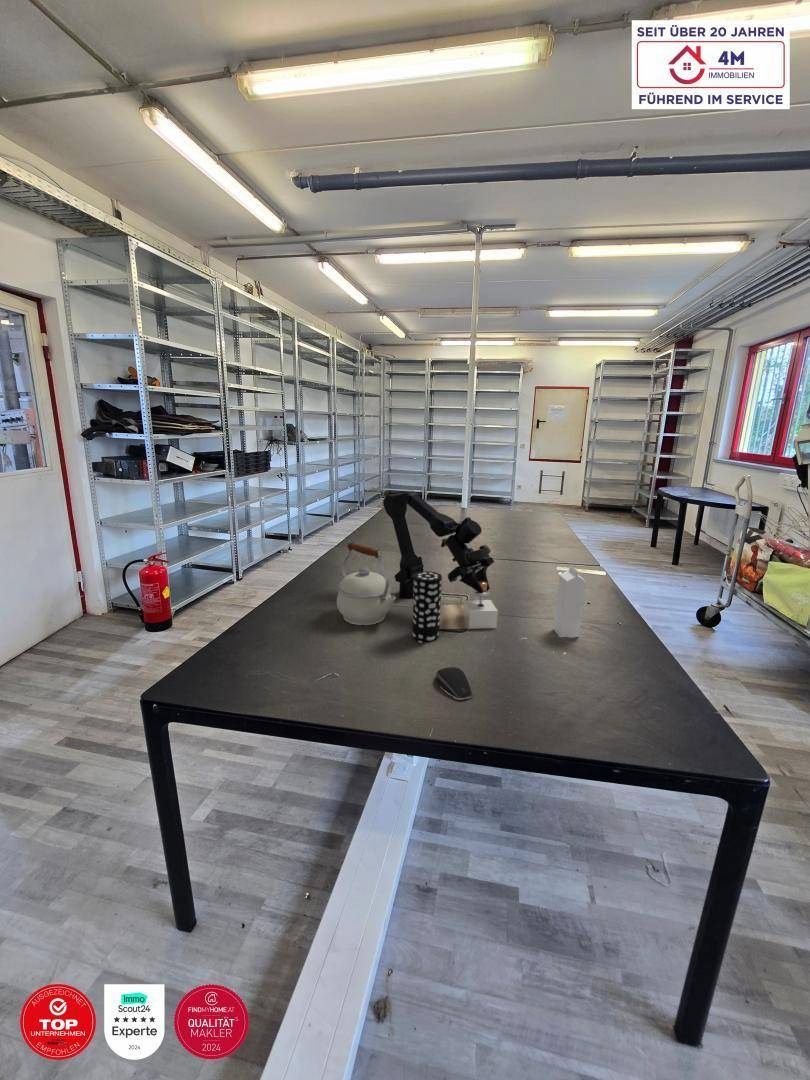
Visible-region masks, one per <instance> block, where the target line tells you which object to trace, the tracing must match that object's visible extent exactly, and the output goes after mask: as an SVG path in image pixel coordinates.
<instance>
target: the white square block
mask: <svg viewBox="0 0 810 1080" xmlns="http://www.w3.org/2000/svg"><path fill="white" fill-rule="evenodd" d="M479 600H480V599H464V601H463V605H464V614H463V617H464V619H465V621H466V623H467V625H468V628H479V629H497V625H498V615H499V611H498V609H497V607H496V606H495V605H494V603H493V601H492V600H491V599H483V601H482V607H479Z"/></svg>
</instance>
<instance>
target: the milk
mask: <svg viewBox="0 0 810 1080" xmlns="http://www.w3.org/2000/svg"><path fill="white" fill-rule="evenodd" d="M558 576H559V577H558V585H557V586H558V587H557V594H556V602H555V610H554V620H553V628H552V629H554V630H555V631H554V630H553V631H554V633H557V634H558V635H559V636H558V635H557V634H556V635H557V636H558V637H559V638H560V637H580V631H581V623H582V617H583V610H584V609H583V608H584V601H585V594H586V588H587V587H586V586H587V580H585V579H584V578H583V577H582V576H580V575H579V571H578V569H576V568H574V567H573V566H572V565H569V568H568V570H566V571H565V572H562V573H560V574H559V575H558Z"/></svg>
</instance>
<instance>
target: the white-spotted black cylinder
mask: <svg viewBox="0 0 810 1080" xmlns="http://www.w3.org/2000/svg"><path fill="white" fill-rule="evenodd" d="M442 582H443V576H442V574H440V573H438V572H434V571H427V570H425V571H424V570H423V572H418V573H415V574H414V589H413V598H412V627H411V630H412V632H411V633H412V634H411V637H412V640H413V641H415V642H417V643H420V644H425V643H432V642H435V641H437V640H439V639H440V629H439V628H440V607H441V605H442V604H441V603H442V602H441V601H442V586H443V585H442Z"/></svg>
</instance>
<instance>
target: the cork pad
mask: <svg viewBox="0 0 810 1080" xmlns="http://www.w3.org/2000/svg"><path fill="white" fill-rule="evenodd" d="M463 614H464V604H441V607H440V628H439V630H453V629H455V630H456V629H457V630H460V629H461V630H462V629H465V630H466V629H467V630H468V629H471V630H472V629H474V630H475V629H480V628H468V625H467V623H466V621H465V619H464V617H463Z"/></svg>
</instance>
